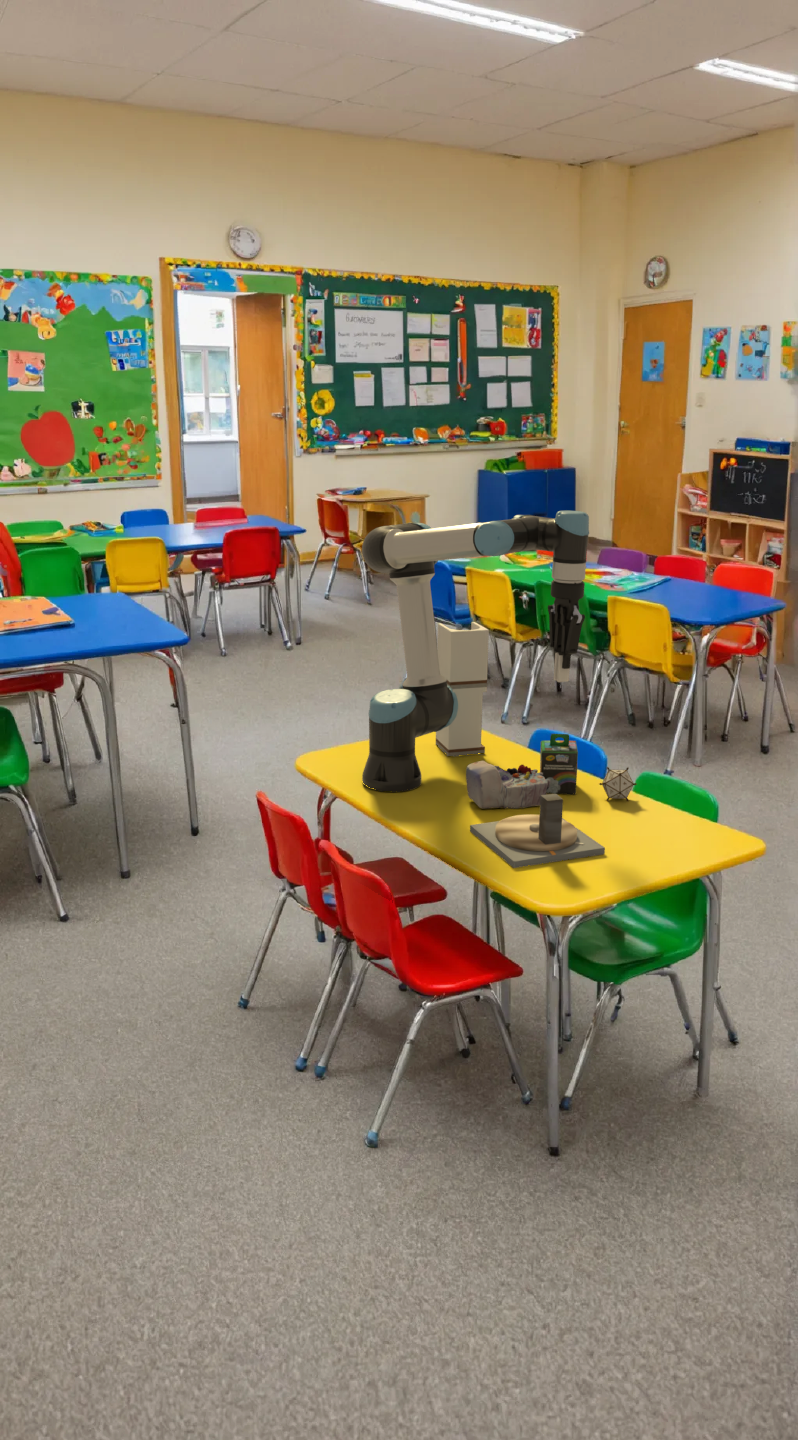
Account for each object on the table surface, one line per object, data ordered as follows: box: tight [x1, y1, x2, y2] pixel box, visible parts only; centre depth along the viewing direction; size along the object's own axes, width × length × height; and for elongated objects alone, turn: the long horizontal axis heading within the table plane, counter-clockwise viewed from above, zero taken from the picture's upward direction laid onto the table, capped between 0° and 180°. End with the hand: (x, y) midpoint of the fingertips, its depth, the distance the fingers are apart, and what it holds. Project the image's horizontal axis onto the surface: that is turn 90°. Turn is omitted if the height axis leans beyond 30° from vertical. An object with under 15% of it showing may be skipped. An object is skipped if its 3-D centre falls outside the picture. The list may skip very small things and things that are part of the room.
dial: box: [495, 793, 578, 851], centre depth 247 cm, size 18×18×12 cm
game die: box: [598, 766, 637, 802], centre depth 275 cm, size 9×8×10 cm
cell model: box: [465, 760, 551, 810], centre depth 272 cm, size 13×11×20 cm
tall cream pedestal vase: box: [435, 621, 490, 757], centre depth 309 cm, size 11×11×35 cm
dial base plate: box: [469, 817, 606, 869], centre depth 249 cm, size 22×22×2 cm
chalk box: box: [539, 733, 579, 796], centre depth 281 cm, size 9×9×15 cm
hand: (561, 680), depth 261 cm, fingers closed
